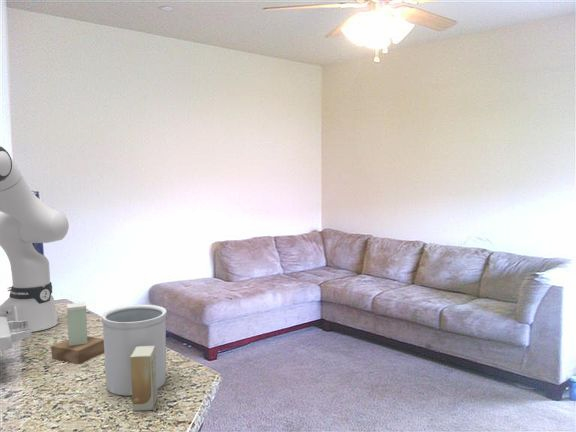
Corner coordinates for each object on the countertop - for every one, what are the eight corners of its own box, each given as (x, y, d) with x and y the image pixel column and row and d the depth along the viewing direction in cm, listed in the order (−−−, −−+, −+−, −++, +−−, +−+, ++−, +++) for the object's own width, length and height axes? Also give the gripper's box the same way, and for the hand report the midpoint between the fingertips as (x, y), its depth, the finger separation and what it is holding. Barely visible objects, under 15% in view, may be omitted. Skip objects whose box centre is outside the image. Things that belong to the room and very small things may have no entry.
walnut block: (52, 360, 138) (51, 346, 138) (80, 348, 147) (79, 335, 147) (79, 365, 134) (78, 350, 134) (106, 352, 143) (106, 339, 143)
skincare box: (138, 398, 113) (135, 345, 112) (158, 397, 114) (155, 344, 112) (132, 412, 107) (129, 356, 106) (152, 410, 107) (150, 355, 106)
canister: (68, 346, 137) (67, 308, 136) (68, 341, 141) (66, 304, 141) (87, 343, 139) (86, 305, 138) (86, 338, 143) (85, 302, 143)
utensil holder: (180, 375, 126) (178, 306, 124) (145, 401, 112) (142, 324, 110) (130, 368, 130) (127, 302, 129) (91, 392, 116) (87, 318, 115)
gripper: (-34, 337, 117) (32, 326, 124) (-33, 316, 134) (25, 308, 142) (-32, 363, 118) (34, 351, 125) (-32, 339, 135) (26, 330, 142)
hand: (29, 328), depth 133 cm, fingers open, 8 cm apart
